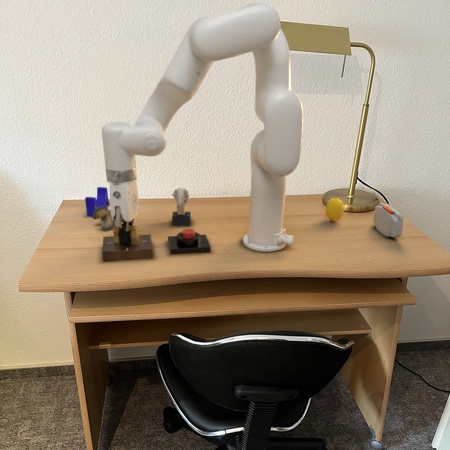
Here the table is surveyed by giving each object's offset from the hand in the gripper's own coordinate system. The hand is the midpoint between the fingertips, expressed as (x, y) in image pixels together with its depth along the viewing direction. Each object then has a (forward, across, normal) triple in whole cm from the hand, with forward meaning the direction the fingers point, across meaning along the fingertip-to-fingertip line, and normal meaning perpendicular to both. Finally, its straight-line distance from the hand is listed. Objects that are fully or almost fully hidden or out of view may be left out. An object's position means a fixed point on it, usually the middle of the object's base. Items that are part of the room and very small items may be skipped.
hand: (127, 241), depth 133 cm
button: (0, +6, -16) cm, 17 cm away
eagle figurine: (+4, +18, +13) cm, 23 cm away
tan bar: (0, 0, 0) cm, 0 cm away
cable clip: (+4, +30, +19) cm, 36 cm away
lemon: (+4, +34, -58) cm, 67 cm away
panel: (+3, 0, 0) cm, 3 cm away
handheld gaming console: (+4, +27, -73) cm, 78 cm away
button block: (+3, +6, -16) cm, 17 cm away
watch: (+4, +24, -10) cm, 26 cm away
